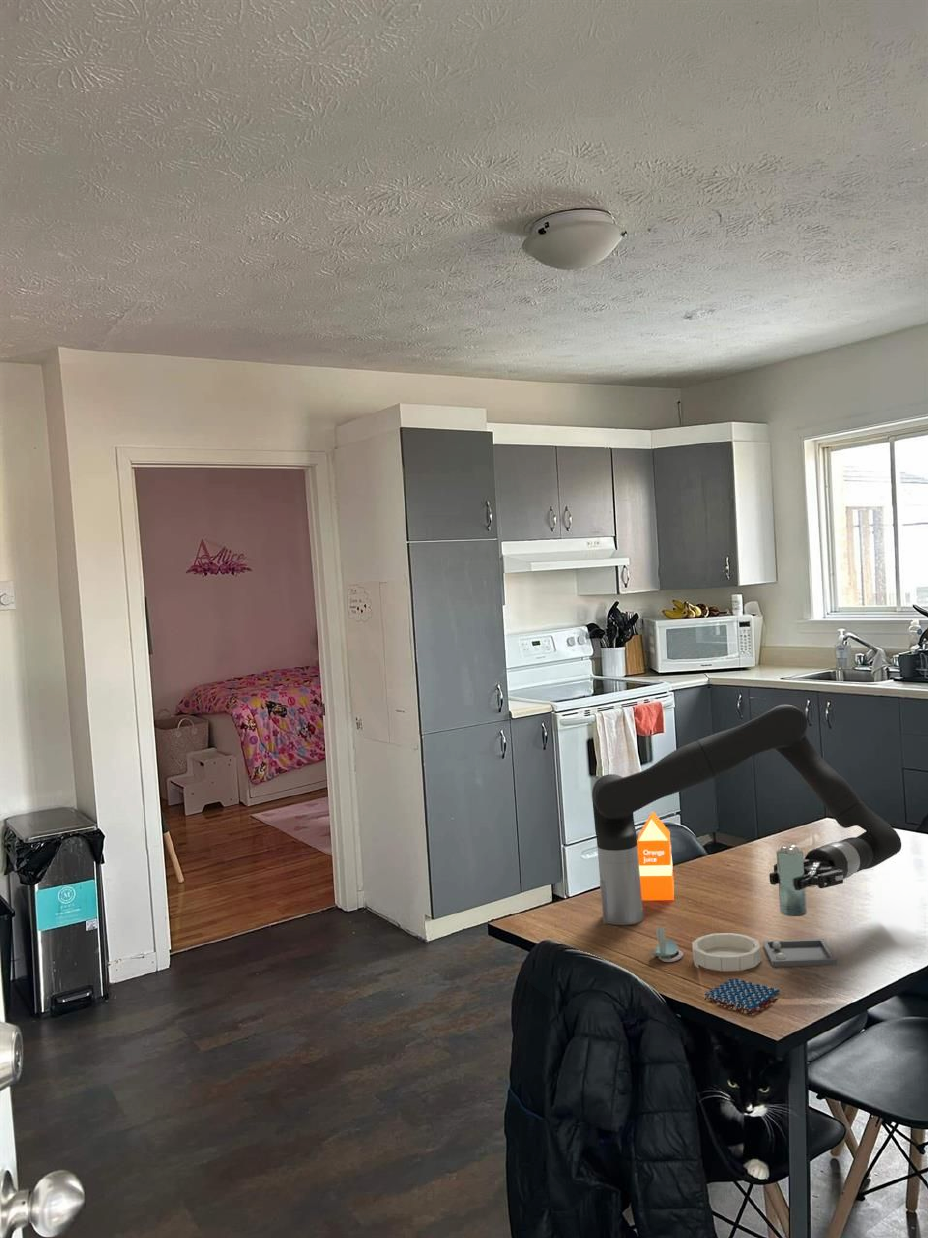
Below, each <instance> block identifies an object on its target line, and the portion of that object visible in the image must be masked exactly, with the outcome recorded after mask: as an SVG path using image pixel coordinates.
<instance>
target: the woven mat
mask: <svg viewBox="0 0 928 1238" xmlns="http://www.w3.org/2000/svg"><path fill="white" fill-rule="evenodd" d="M718 986H719V987H717V986H716V987H713V989H710V990H709V992H708V993H707V992H705V993H704V996H706V997H705V998H704V1001H705V1000H706V1001H705V1003H707V1002H709V1003H710V1002H711V1003H717V1004H716V1006H717V1005H721V1004H723V1006H727V1008H728V1009H731V1007H732V1009H731V1010H732V1011H734V1010H735V1012H736V1011H737V1010H739V1011H741V1010H743V1014H745V1015H748V1014H747V1013H749V1012H750V1013H751V1014H750V1013H749V1014H750V1016H751V1015H754V1014H755V1015H756V1013H757V1014H758V1013H760V1012H763V1010H764V1009H766V1008H767V1007H766V1006H767V1005H769V1004H771V1003H772V1004H775V1003H776V1002H777V1001H778V1000H779V998H773V997H774V996H775V995H778V994H779V992H781V990H780V989H776V988H774V987H770V986H767V985H762V984H759V983H757V984H756V983H753V982H751V981H750V982H749V981H748V980H747V981H746V980H744V979H743V980H741V978H728V981H723V984H722V983H721V984H719V985H718ZM707 997H708V1000H707ZM709 999H710V1000H709ZM712 999H713V1000H712ZM772 1004H771V1005H772ZM721 1006H722V1005H721ZM769 1006H770V1005H769ZM740 1007H742V1008H740ZM763 1008H764V1009H763ZM728 1009H727V1010H728ZM762 1009H763V1010H762ZM758 1011H759V1012H758ZM755 1015H754V1016H755Z"/></svg>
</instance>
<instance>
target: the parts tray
mask: <svg viewBox="0 0 928 1238" xmlns="http://www.w3.org/2000/svg"><path fill="white" fill-rule="evenodd" d="M762 947H763V949H764V951H765V954H766V956H767V958H768V960H769V962H770V964H771V966H772V967H773V968H780V967H781V968H783V967H814V966H815V967H817V966H818V967H819V966H820V967H821V966H837V965H838V961H837V957H836V956H835V955H834V953H833V952H832V950H831V949H830V947H829V945H828V944H827V942H826V941H825V939H824V938H817V939H816V938H812V939H810V938H809V939H786V940H785V939H784V940H783V939H781V940H778V939H777V940H762Z"/></svg>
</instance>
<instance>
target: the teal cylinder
mask: <svg viewBox="0 0 928 1238" xmlns="http://www.w3.org/2000/svg"><path fill="white" fill-rule="evenodd" d="M776 864H777V868H778V895H779V896H778V897H779V908H780V909H779V910H780V913H781V914H782V915H784V916H787V917H803V916H805V915H807V914H808V909H807V908H808V907H807V897H806V895H807V894H806V888H804V889H801V890H795V888H794V879H795V878H798V877H800V876H803V875H804V852H803V851H802V850H801V849H799V848H798V846H795V845H790V846H789V847H786V846H782V847H781V848H780V849H777V851H776Z"/></svg>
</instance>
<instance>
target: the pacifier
mask: <svg viewBox="0 0 928 1238" xmlns="http://www.w3.org/2000/svg"><path fill="white" fill-rule="evenodd" d="M655 937H656V939H657V941H658V945H657V946H656V951H649V954H651V955H654V956H657V958H658V957H659V958H660V959H661V960H660V959H659V958H658V959H659V960H660V961H662V962H665V963H674V962H678V961H680V960H681V959H682V958H683V956H684V952H683V951H682V950H680V949H679V945H678V944H677V943H676V942H675V941H674V940H672V939H667V933H666V931H665V929H664V927H663V926H657V928H656V930H655ZM677 953H678V954H677ZM676 954H677V955H676ZM671 955H672V956H674V955H676V956H675V957H672V956H671ZM669 957H671V958H669Z"/></svg>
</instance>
